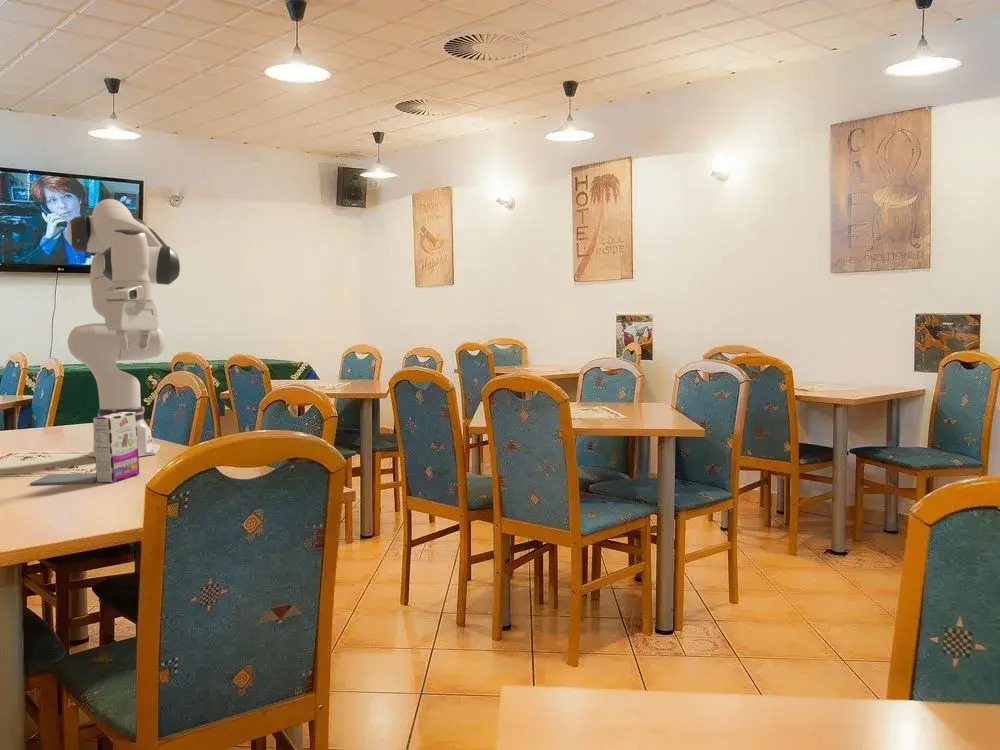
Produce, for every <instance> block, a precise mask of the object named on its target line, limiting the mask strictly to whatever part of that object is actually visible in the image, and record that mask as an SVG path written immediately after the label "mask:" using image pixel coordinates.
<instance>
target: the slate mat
mask: <svg viewBox="0 0 1000 750" xmlns="http://www.w3.org/2000/svg"><path fill="white" fill-rule="evenodd" d="M95 483H98V482H97V476H96V472H86V473H83V472H82V473H81V472H80V473H77V472H76V473H49V474H47V475H46V476H43V477H40V478H38V479H36V480H34V481H31V482H30V486H53V485H54V486H55V485H87V484H88V485H89V484H90V485H91V484H95Z"/></svg>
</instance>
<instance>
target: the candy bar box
mask: <svg viewBox="0 0 1000 750" xmlns="http://www.w3.org/2000/svg"><path fill="white" fill-rule="evenodd" d="M92 424H93V425H92V426H93V427H92V428H93V444H94V443H95V457H94V458H95V471H96V472H95V473H96V476H97V482H96V483H99V484H101V483H102V484H103V483H104V484H105V483H106V484H108V483H109V484H111V483H112V484H114V483H116V482H117V483H118V482H120V481H123V480H126V479H129V478H132V477H135V476H138V475H140V461H139V457H138V441H137V423H136V412H119V413H113V414H109V415H104V416H100V417H98V416H95V417H93V418H92Z"/></svg>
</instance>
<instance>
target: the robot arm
mask: <svg viewBox="0 0 1000 750" xmlns="http://www.w3.org/2000/svg"><path fill="white" fill-rule="evenodd" d="M92 210H93V211H92V214H91V215H86V214H85V213H84V214H81V215H80V216H75V217H73V218H72V219H71V220H70V221H69V223H68V226H67V229H66V237H67V240H68V242H69V244H70V247H71V248H72V249H73V250H74V251H75V252H80V253H92V254H93V253H94V256H93V257H92V258H91V263H90V276H89V277H90V289H91V300H92V306H93V309H94V311H96V313H97V314H98V315H99V316H101V317H102V318H104V323H103V322H102V323H88V324H87V323H86V324H82V325H77V326H75V327H74V328H72V329H71V331H70V333H69V335H68V339H67V346H68V350H69V352H70V353H71V355H72V356H73V358H75V359H76V360H78V361H80V362H81V363H83V365H85V366H86V367H87V368H88V369H89V370H90V372H91V373H92V375H93V377H94V379H95V382H96V386H97V390H98V401H99V403H98V404H99V408H98V410H97V417H100V416H104V415H109V414H113V413H119V412H136V423H137V441H138V458H139V457H144V456H153V455H157V453H158V452H159V450H160V448H161V445H160V444H158V443H157V444H156V443H153V442H152V441H153V440H152V430H151V428H150V427H149V424H147V422H146V420H145V419H144V418H145V415H144V413H145V406H143V405H142V402H141V401H142V400H141V399H142V398H141V383H140V381H139V379H138V378H137V377H136V376H135V375H133V374H130V373H128V372H125V371H123V370H121V369H119V368H118V367H117V362H120V361H141V360H142V361H143V360H148V359H152V358H156V357H159V356H161V354H162V353H163V351H164V350H165V346H166V338H165V334H164V332H163V330H162V329H161V328H160V327H159V317H158V308H157V305H156V303H155V302H154V301H153V298H152V287H151V286H152V284H157V285H167V286H169V285H171V283H173V282H174V281H175V280H177V278H179V276H180V272H181V271H180V270H181V264H180V259H179V255H178V254H177V252H176V251H175V250H174V249H173V248H172V247H171V246H169V245H167V244H166V243H165V242H164V240H162V238H161V237H160V236H159V234H157V233H156V231H155V230H154V229H152V228H150V227H149V226H147V224H146V222H145V221H144V220H143V219H140V218H136V217H134V216H133V215H132V213H131V211H130V210H129V209H128V207H126V205H125V204H124V203H123V202H121V201H120V200H117V199H114V198H106V199H102V200H100V201H99V202H98V203H96V204H95V206H94V207H93V209H92ZM92 450H93V451H90V452H88V457H90V458H91V457H93V458H95V443H94V442H93V448H92Z"/></svg>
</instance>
